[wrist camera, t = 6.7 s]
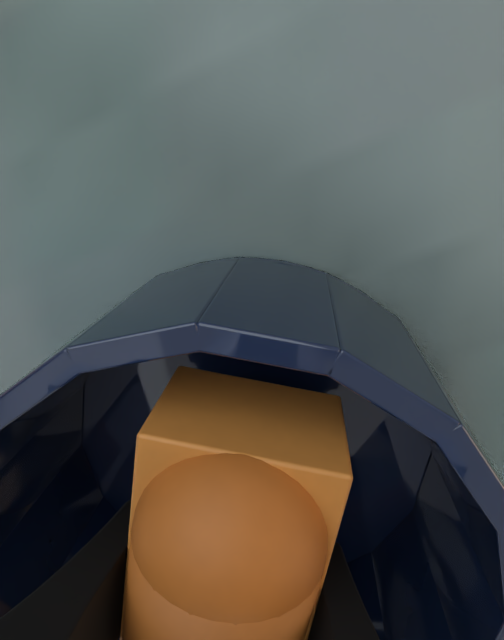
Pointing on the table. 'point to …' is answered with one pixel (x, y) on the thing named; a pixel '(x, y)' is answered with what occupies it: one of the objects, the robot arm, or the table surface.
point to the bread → (233, 510)
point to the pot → (278, 368)
